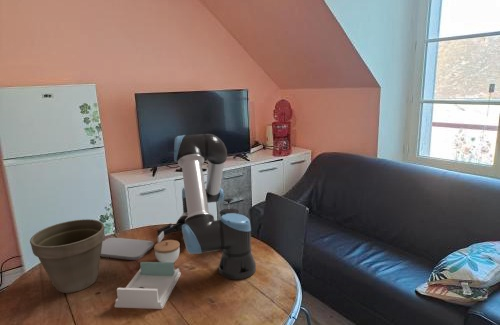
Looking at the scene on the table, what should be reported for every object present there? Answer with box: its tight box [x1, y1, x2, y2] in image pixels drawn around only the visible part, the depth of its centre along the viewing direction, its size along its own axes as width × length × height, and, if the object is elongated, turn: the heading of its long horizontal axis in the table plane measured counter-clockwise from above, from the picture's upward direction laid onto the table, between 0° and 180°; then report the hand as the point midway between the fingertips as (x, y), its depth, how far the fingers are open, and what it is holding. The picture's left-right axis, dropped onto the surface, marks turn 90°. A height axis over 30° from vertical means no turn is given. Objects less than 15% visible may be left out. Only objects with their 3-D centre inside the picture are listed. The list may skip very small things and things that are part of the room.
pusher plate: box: [139, 261, 175, 275], centre depth 134 cm, size 1×13×5 cm, turn 85°
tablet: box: [100, 237, 155, 261], centre depth 159 cm, size 16×26×2 cm, turn 76°
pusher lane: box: [114, 268, 182, 310], centre depth 126 cm, size 22×17×7 cm
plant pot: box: [29, 218, 106, 294], centre depth 131 cm, size 25×25×22 cm
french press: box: [219, 198, 240, 217], centre depth 159 cm, size 12×9×23 cm
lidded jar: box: [153, 239, 181, 263], centre depth 146 cm, size 11×11×9 cm
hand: (172, 240), depth 154 cm, fingers open, 13 cm apart
